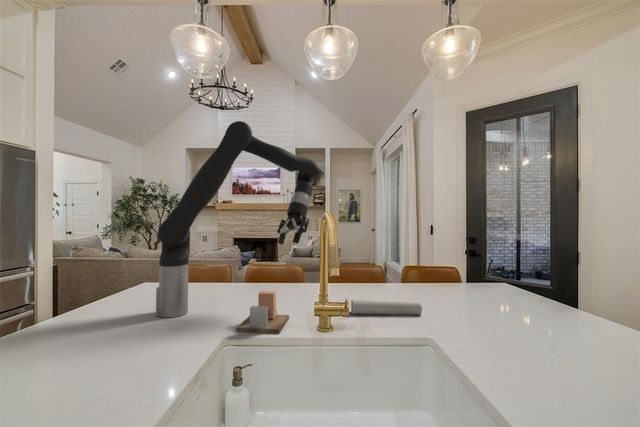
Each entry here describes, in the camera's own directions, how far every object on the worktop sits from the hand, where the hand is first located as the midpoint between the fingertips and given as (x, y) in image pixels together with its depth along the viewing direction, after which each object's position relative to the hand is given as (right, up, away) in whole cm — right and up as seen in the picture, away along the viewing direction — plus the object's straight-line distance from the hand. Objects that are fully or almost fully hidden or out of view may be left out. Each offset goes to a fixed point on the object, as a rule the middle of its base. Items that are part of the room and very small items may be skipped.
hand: (287, 243), depth 109 cm
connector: (-6, -23, -21) cm, 32 cm away
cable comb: (-5, -23, -11) cm, 26 cm away
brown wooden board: (-6, -24, -16) cm, 30 cm away
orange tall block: (-5, -23, -13) cm, 27 cm away
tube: (+36, -25, -4) cm, 44 cm away
